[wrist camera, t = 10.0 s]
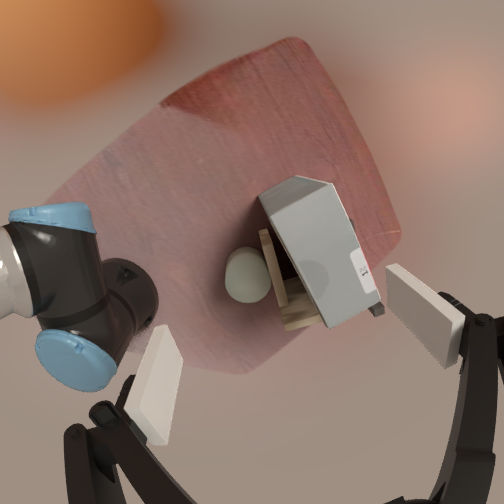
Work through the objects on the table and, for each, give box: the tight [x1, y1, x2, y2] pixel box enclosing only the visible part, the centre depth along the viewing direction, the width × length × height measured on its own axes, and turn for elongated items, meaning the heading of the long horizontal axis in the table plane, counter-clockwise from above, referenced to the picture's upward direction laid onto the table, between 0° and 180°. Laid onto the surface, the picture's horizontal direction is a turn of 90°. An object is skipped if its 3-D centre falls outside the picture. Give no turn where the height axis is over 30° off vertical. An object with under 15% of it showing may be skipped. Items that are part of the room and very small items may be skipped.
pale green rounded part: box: [225, 247, 271, 303], centre depth 48 cm, size 7×7×7 cm
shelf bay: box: [258, 219, 385, 332], centre depth 43 cm, size 14×11×17 cm
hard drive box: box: [258, 175, 381, 329], centre depth 40 cm, size 16×8×20 cm, turn 29°
